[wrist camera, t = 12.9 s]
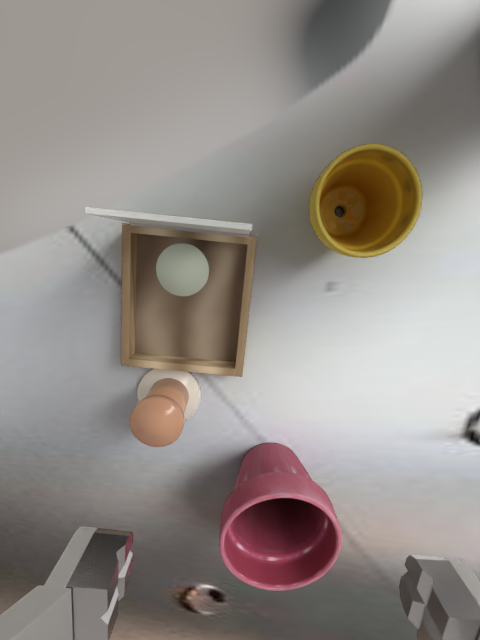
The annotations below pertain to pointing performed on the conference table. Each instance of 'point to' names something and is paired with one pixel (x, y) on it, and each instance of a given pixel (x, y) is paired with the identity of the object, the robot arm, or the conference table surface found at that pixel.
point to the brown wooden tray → (185, 304)
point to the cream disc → (181, 376)
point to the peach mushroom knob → (160, 413)
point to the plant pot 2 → (366, 201)
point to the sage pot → (182, 269)
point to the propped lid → (175, 222)
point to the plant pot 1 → (278, 522)
